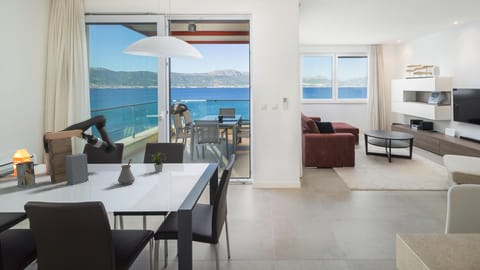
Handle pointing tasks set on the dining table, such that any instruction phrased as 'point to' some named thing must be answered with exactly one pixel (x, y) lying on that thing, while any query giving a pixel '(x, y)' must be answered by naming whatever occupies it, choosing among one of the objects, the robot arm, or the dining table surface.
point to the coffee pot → (126, 175)
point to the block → (63, 134)
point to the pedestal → (76, 168)
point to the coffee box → (25, 174)
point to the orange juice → (20, 158)
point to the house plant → (158, 162)
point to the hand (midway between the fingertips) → (78, 132)
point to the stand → (59, 158)
